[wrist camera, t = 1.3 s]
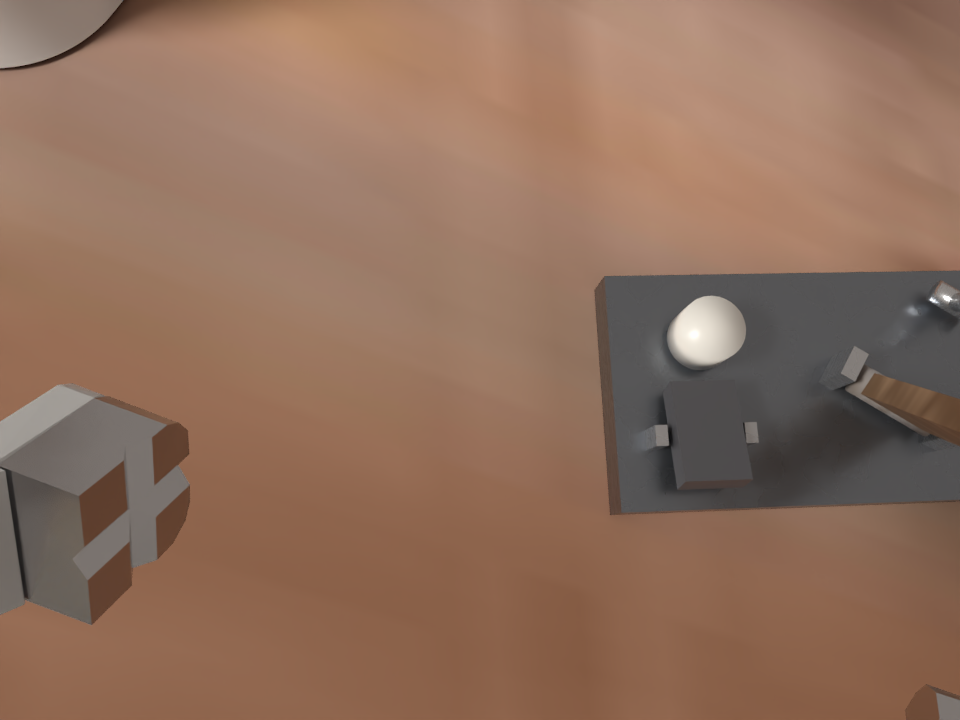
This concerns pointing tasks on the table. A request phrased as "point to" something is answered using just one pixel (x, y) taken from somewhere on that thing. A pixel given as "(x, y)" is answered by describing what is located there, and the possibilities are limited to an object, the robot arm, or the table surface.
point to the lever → (909, 404)
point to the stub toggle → (945, 298)
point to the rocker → (706, 435)
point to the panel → (783, 388)
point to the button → (706, 333)
